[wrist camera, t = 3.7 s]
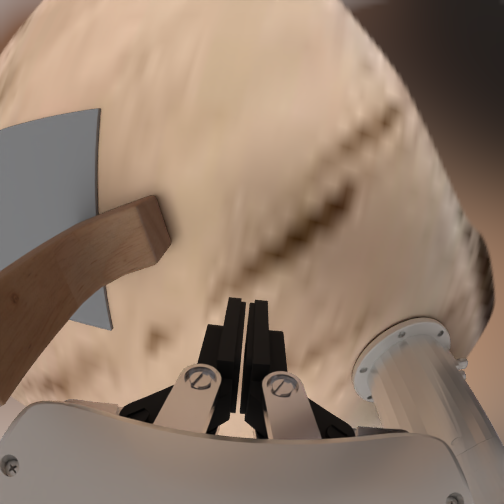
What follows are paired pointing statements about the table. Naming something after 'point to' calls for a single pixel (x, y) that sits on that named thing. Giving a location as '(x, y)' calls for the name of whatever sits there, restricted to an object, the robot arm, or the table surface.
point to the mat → (50, 190)
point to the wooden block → (70, 279)
